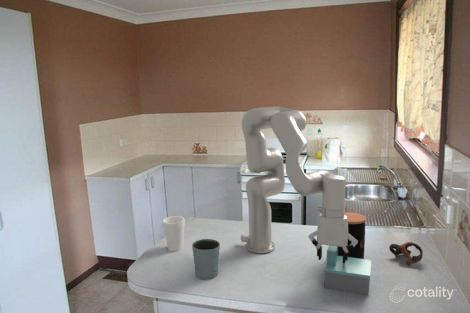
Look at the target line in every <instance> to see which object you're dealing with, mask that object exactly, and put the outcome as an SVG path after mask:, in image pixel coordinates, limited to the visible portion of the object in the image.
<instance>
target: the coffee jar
mask: <svg viewBox="0 0 470 313" xmlns="http://www.w3.org/2000/svg"><path fill="white" fill-rule="evenodd" d="M345 215H346V216H347V222H348V233H349V234H350V235H351V236H353V237H354V238H355V239H356V240H357V241H358V243H357V244H356V245H355V246H354V247H353V249H351V250H350V251H349V252H348V257H352V258H359V259H365V246H366V244H365V243H366V241H365V240H366V219H367V218H366V216H365V215H363V214H361V213H357V212H351V211H350V212H349V211H348V212H346V211H345ZM351 243H352V241H350V240H349V239H348V243H347V245H350V244H351ZM343 251H344V250H343V248H342V247H338V252H337V256H343Z"/></svg>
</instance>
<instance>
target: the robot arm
mask: <svg viewBox="0 0 470 313" xmlns="http://www.w3.org/2000/svg"><path fill="white" fill-rule="evenodd" d="M306 119H307V118H306V117H305V116H304V113H302V112H301V111H299V110H296V109H291V108H287V107H282V106H265V107H256V108H251V109H249V110H247V111H245V113H244V114H243V116H242V118H241V129H242V133H243V137H244V141H245V142H244V143H245V154H246V164H247V168H248V171H249V172H251V173H252V174H261V173H265V172H266V173H265V174H261V175H256V176H253V177H251V178H250V179H248V180H247V182H246V184H245V191H246V192H245V193H246V196H247V202H248V203H247V205H248V231H249V232H248V235H243V234H241V235H240V240H241V243H242V242H243V243H246V244H245V249H246V251H248V252H250V253H254V254H268V253H271V252H273V251H274V250H275V249H276V243H275V242H274V241H273V240H272V208H271V207H272V206H271V204H270V202H269V201H268V198H269V197H273V196H276V195H280V194H282V192H283V191H284V190H285V187H286V186H285V184H286V183H285V182H286V178H285V177H286V176H287V179H288V180H289V183H290V184H291V186H292V188H294V190H295V192H296V193H297V194H299V195H300V196H302V197H308V196H312V195H317V194H320V193H321V197H322V198H321V206H318V207H317V211H318V212H320V214H319V215H318V220H317V228H316V230H315V231H313V232H312V233H310V234H308V239H309V240H310V242H311V244H312V245H313V246H314V247H315V248H316V257H318V260H319V261H321V259H322V257H323V246H329V245H330V246H338V247H342V248H343V250H344V251H343V263H344V264H345V261H346V260H348V252H349V251H350V250H351V249H353V247H354V246H355V245H356V244H357V243H358V241H357V240H356V239H355V238H354V237H353V236H351V235H350V234H349V233H348V222H347V216H346V215H345V212H346V210H345V209H346V190H347V189H346V188H347V187H346V186H347V185H346V184H347V183H346V178H345V177H344V176H342V175H339V174H333V173H331V172H328V171H326V170H321V169H320V170H316V171H311V172H307V173H305V172H304V170H303V168H302V166H301V164H300V158H299V157H300V155H301V154H302V153H303V152H304V151H305V150H306V148H307V147H308V142H307V140H306V139H305V137H304V136H303V133H302V131H304V130H305V129H306V127H307V120H306ZM267 129H271V130H272V132H273V134H274V136H275V137H276V139H277V140H278V142H279V143H280V145H281V147H282V149H283V151H284V153H285V154H286V158H285V163H284V158H283V155H282V153H281V151H280V150H279V149H277V148H276V147H267V139H266V137H265V135H264V133H263V132H262V130H267ZM284 165H285V166H284ZM284 167H285V168H284ZM285 172H286V173H285ZM285 174H286V176H285ZM315 237H316V238H315ZM348 239H349V240H350V241H352V243H351V244H350V245H347V243H348ZM322 245H323V246H322Z"/></svg>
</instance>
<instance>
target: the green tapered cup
mask: <svg viewBox="0 0 470 313" xmlns="http://www.w3.org/2000/svg"><path fill="white" fill-rule="evenodd" d="M191 247H192V256H193V263H194V274H195V277H196V278H197V279H199V280H203V281H208V280H213V279H215V278H216V277H217V276H218V275H219V262H220V258H219V257H220V248H221V243H220V242H219V241H218V240H216V239H212V238H203V239H198V240H196V241H194V242H192V246H191Z"/></svg>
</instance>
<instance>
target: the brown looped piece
mask: <svg viewBox="0 0 470 313" xmlns="http://www.w3.org/2000/svg"><path fill="white" fill-rule="evenodd" d="M412 246H413V247H415V249H416V250H418V251H419V254H418V255H412V256H411V257H410V255H411V253H412V251H411V250H409V249H408V248H409V247H412ZM388 249H389V250H390V252H391V254H393V255H394V256H395V258H398V256H400V255H403V256H404V258H406V259H407V260H406V261H405V264H406V265H408V266H411V265H413V264H417V263H419V262H421V261H422V259H423V255H424V254H423V253H424V252H423V249H422V247H421V246H420V245H418V244H417V243H415V242H412V241H411V242H410V241H409V242H408V241H407V242H405V243H402V244H400V245H399V244H396V243H391V244H390V245H389V246H388Z"/></svg>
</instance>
